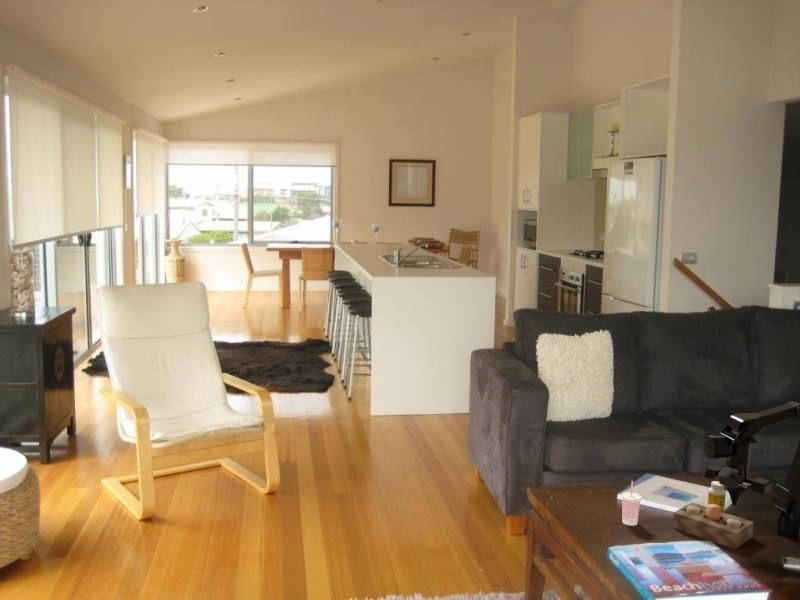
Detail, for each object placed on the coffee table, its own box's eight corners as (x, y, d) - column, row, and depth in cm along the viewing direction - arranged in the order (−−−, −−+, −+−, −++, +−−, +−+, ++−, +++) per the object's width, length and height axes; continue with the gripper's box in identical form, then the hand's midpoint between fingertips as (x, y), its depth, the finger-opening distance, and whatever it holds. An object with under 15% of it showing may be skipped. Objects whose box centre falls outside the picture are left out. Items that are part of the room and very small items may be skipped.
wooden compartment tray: (752, 537, 248) (753, 522, 247) (734, 549, 240) (736, 533, 239) (691, 516, 262) (692, 502, 261) (672, 527, 254) (673, 512, 253)
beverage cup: (640, 527, 254) (643, 485, 251) (620, 525, 255) (623, 483, 253) (638, 519, 260) (641, 478, 257) (619, 517, 261) (621, 476, 259)
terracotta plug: (722, 522, 250) (723, 506, 249) (716, 525, 247) (717, 510, 247) (709, 517, 253) (710, 502, 252) (703, 521, 250) (704, 506, 250)
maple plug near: (741, 537, 246) (743, 521, 245) (736, 541, 243) (737, 525, 242) (729, 532, 249) (730, 517, 248) (723, 536, 246) (724, 521, 245)
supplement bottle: (711, 506, 271) (713, 479, 270) (727, 511, 267) (729, 483, 266) (704, 510, 267) (706, 483, 266) (719, 515, 264) (722, 487, 262)
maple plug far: (701, 523, 255) (702, 508, 255) (695, 527, 253) (696, 512, 252) (689, 519, 258) (690, 504, 257) (683, 522, 255) (684, 508, 255)
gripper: (696, 454, 243) (692, 503, 246) (758, 471, 230) (754, 523, 232) (713, 446, 251) (710, 494, 253) (774, 462, 237) (770, 512, 240)
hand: (734, 505), depth 244 cm, fingers closed
